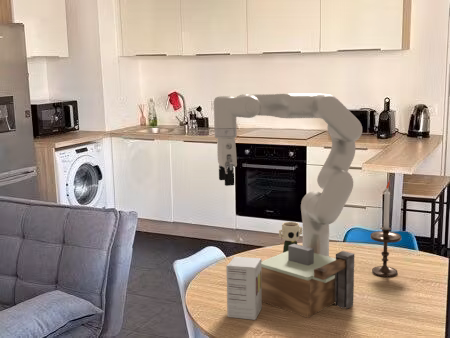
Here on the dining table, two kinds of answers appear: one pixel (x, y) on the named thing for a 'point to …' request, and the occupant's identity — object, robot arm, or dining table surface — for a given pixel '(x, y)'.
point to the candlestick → (385, 240)
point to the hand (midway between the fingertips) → (226, 182)
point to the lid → (298, 262)
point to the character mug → (290, 234)
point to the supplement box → (244, 288)
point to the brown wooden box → (309, 289)
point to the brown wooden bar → (330, 269)
